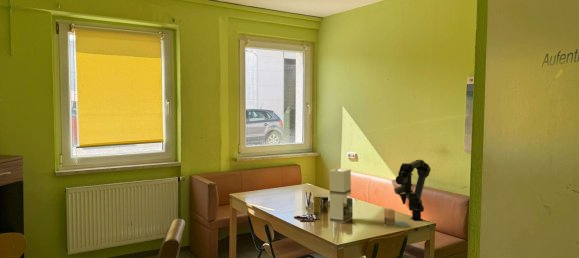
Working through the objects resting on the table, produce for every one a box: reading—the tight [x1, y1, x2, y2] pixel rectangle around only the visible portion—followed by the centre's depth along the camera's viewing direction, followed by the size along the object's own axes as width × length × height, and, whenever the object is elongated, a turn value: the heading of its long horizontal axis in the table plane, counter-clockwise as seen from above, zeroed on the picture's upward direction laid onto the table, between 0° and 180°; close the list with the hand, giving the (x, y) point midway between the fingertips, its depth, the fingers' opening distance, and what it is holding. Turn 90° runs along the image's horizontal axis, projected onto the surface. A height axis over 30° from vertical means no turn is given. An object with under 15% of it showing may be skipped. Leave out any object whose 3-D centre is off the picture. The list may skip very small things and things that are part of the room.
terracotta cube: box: [383, 208, 396, 219], centre depth 280 cm, size 5×5×5 cm
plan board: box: [379, 221, 412, 229], centre depth 281 cm, size 11×17×1 cm, turn 101°
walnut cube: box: [383, 217, 396, 226], centre depth 280 cm, size 5×5×5 cm
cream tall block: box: [329, 168, 352, 224], centre depth 296 cm, size 11×11×35 cm
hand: (407, 205), depth 286 cm, fingers open, 9 cm apart
